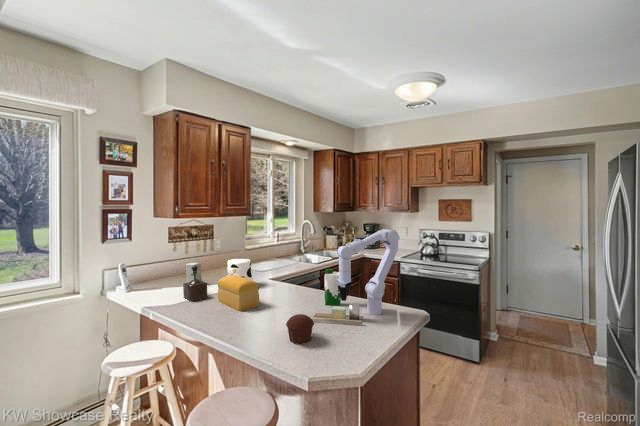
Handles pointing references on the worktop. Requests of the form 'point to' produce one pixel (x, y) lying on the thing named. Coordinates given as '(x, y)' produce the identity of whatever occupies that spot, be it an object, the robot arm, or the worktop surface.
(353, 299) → the worktop surface
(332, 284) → the milk carton
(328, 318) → the shelf board
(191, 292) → the pepper mill
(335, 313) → the tea box
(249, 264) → the milk container
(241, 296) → the bread
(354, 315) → the metal can
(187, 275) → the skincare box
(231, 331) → the worktop surface
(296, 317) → the muffin
